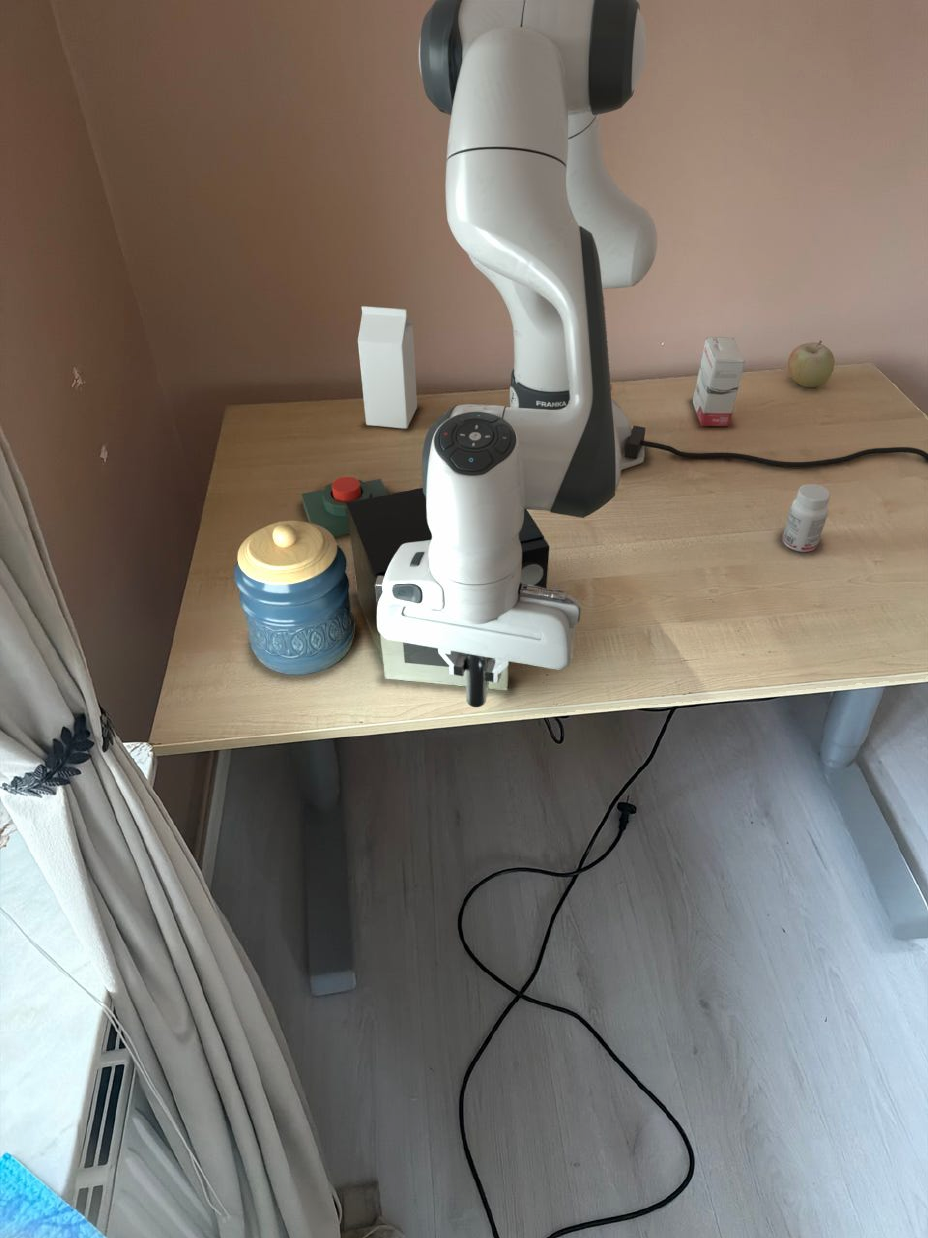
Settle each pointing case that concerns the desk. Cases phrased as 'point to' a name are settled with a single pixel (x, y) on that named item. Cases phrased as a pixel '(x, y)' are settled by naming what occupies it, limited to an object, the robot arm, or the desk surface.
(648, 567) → the desk surface
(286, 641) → the canister
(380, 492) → the block
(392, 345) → the milk carton
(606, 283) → the robot arm
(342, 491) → the release button
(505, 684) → the microwave door
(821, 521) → the pill bottle
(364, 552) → the microwave
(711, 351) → the ink box
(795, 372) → the fruit
